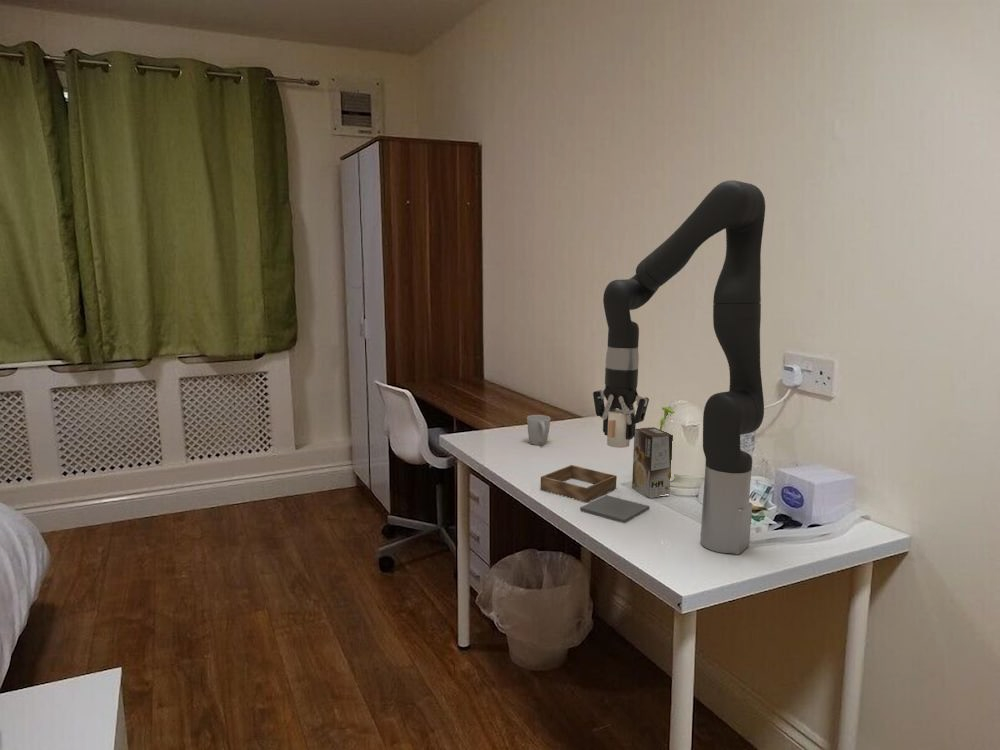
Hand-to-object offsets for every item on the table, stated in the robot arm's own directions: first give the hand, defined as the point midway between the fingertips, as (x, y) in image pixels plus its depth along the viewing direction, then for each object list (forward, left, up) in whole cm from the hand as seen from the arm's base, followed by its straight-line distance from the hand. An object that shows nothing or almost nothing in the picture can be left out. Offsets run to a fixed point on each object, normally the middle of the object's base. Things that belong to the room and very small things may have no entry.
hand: (618, 436), depth 168 cm
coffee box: (0, -18, -18) cm, 26 cm away
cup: (+49, -36, -18) cm, 64 cm away
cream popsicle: (0, 0, -2) cm, 2 cm away
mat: (0, 0, -18) cm, 18 cm away
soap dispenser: (+2, -30, -18) cm, 35 cm away
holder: (+15, -7, -18) cm, 25 cm away
